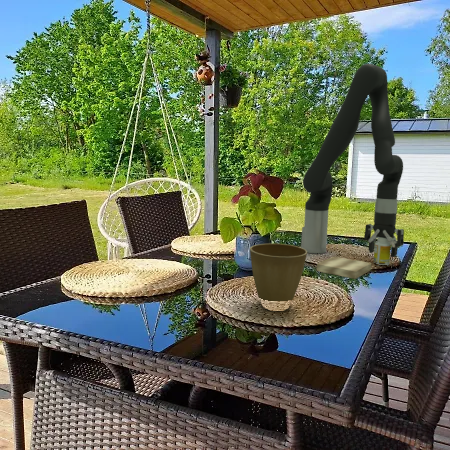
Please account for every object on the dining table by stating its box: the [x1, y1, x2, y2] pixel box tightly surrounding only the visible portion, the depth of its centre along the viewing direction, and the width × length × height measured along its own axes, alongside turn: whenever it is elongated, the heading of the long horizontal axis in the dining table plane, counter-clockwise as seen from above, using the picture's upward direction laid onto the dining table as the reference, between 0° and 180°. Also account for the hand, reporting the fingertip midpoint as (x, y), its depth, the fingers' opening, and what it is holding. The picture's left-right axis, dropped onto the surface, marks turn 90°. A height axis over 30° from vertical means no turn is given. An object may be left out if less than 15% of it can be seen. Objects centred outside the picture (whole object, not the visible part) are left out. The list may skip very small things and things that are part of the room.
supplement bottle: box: [373, 237, 392, 266], centre depth 168 cm, size 6×6×10 cm
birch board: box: [316, 256, 373, 280], centre depth 160 cm, size 14×14×2 cm
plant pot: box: [249, 243, 308, 301], centre depth 122 cm, size 15×15×16 cm
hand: (382, 254), depth 169 cm, fingers open, 8 cm apart
